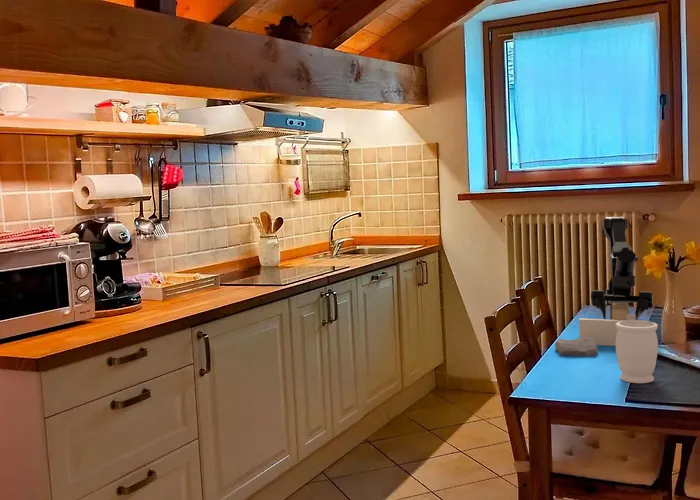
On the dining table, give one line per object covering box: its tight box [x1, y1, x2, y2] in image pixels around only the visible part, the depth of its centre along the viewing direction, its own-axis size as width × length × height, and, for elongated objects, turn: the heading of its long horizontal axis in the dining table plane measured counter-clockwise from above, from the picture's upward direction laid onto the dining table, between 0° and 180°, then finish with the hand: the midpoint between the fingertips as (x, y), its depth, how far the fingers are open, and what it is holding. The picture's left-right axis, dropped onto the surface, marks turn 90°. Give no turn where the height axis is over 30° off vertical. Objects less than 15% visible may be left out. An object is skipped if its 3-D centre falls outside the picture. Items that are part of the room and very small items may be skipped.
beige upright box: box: [578, 317, 626, 347], centre depth 234 cm, size 3×14×8 cm, turn 64°
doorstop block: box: [612, 303, 629, 321], centre depth 238 cm, size 4×4×12 cm
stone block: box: [555, 337, 599, 357], centre depth 226 cm, size 12×5×10 cm
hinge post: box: [627, 313, 636, 320], centre depth 230 cm, size 2×2×10 cm
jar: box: [615, 319, 659, 384], centre depth 194 cm, size 11×10×15 cm
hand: (619, 320), depth 236 cm, fingers open, 9 cm apart
